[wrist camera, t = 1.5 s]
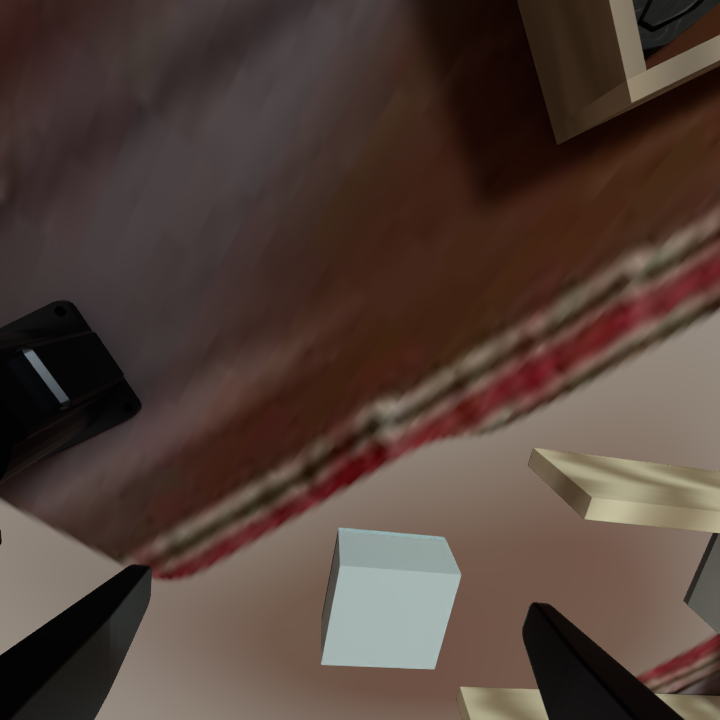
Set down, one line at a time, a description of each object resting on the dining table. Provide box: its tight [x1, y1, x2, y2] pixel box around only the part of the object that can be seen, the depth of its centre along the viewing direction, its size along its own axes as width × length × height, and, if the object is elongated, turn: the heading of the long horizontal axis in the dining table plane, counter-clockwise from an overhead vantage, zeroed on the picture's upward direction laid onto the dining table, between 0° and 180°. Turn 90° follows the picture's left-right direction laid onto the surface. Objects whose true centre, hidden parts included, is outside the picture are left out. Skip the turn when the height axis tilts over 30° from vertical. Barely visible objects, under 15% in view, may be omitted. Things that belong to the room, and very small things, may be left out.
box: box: [456, 448, 720, 720], centre depth 23 cm, size 24×20×5 cm
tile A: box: [321, 528, 461, 669], centre depth 22 cm, size 7×7×3 cm
